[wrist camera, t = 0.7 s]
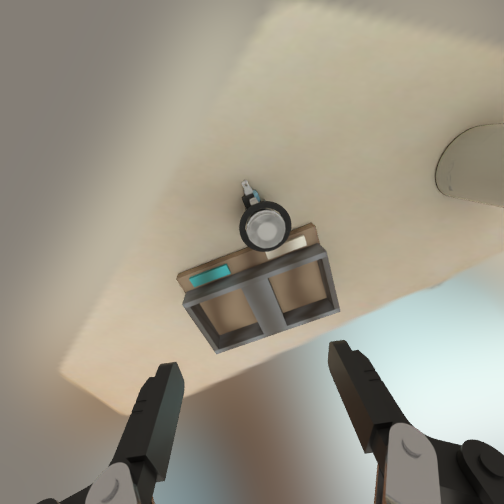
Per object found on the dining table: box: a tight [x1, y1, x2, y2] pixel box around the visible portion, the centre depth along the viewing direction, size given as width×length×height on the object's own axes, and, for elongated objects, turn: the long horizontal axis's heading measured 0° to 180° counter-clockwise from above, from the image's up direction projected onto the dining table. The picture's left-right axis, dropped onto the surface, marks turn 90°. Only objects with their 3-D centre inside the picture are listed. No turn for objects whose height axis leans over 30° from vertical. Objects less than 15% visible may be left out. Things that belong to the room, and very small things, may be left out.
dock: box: [176, 223, 340, 354], centre depth 33 cm, size 22×15×4 cm
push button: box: [239, 180, 291, 252], centre depth 24 cm, size 7×5×10 cm
